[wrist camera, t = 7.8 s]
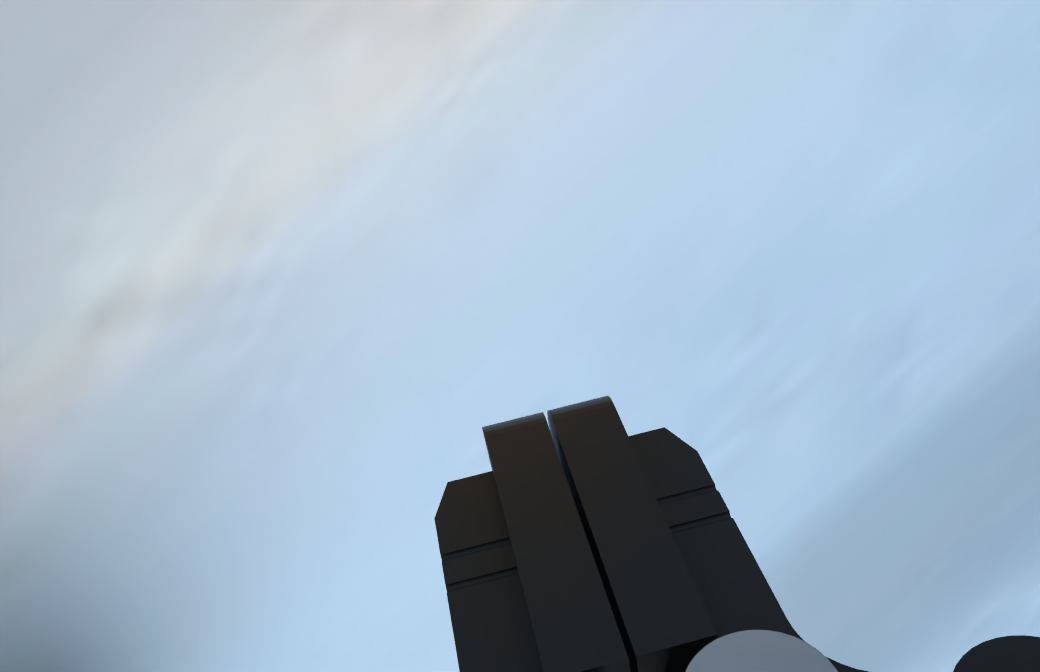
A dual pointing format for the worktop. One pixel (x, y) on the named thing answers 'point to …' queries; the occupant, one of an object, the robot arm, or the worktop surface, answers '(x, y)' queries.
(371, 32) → the worktop surface
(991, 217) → the worktop surface
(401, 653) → the worktop surface
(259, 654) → the worktop surface
